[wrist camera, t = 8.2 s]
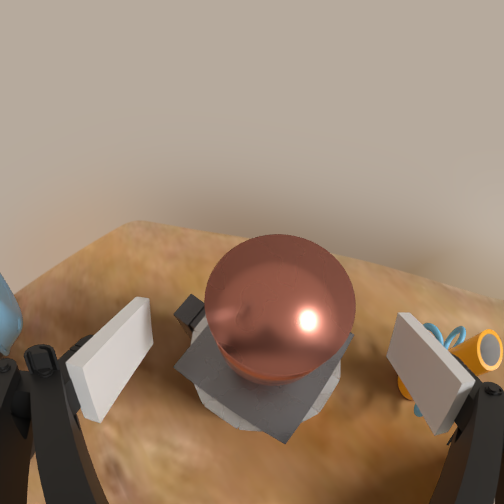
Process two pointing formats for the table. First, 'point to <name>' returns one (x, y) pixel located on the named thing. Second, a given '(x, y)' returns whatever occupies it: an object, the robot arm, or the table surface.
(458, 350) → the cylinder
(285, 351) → the plunger
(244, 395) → the press carafe
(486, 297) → the table surface
